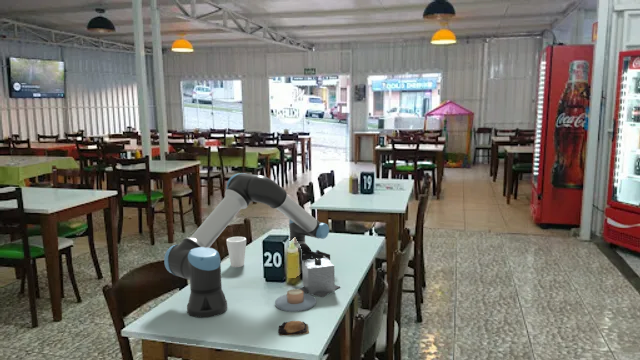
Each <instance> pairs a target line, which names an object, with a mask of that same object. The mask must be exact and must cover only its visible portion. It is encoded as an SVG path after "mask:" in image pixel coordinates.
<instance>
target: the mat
mask: <svg viewBox="0 0 640 360" xmlns="http://www.w3.org/2000/svg"><path fill="white" fill-rule="evenodd" d="M340 288H341V286H340V285H335V291H336V290H337V289H340ZM299 289H300V290H303V293H304V294H308V292H307V291H306V289H305V288H304V286H303V287H300V288H299ZM330 293H332V292H325V293H317V294H310V295H311V296H314V297H315V296H316V297H320V298H323V297H325V296H327V295H329V294H330Z"/></svg>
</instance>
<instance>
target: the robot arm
mask: <svg viewBox="0 0 640 360" xmlns="http://www.w3.org/2000/svg"><path fill="white" fill-rule="evenodd" d="M252 202H253V203H254V202H255V203H261V204H264V205H267V206H268V207H270V208H271V209H276V210H277V211H278V212H280V213H281V214H282V215H284V216H285V217H286V218H288V219H289V220H288V221H289V223H288V227H289V238H290V240H289V241H291V240H292V239H293V238H294V237H296V239H297V241H298V243H299V244H300V246H301V249H302V260H312V259H316V258H319V259H321V258H328V259H329V261H331V254H329V253H326V252H323V251H320V250H318V249H317V250H315V251H313V250H311V248H310V246H309V244H307V243H306V237H311V238H315V239H317V240H318V239H320V240H324V239H326V238H327V237H328V235H329V233H330V227H329V225H328V224H327V223H325V222H320V221H319V220H318V219H316V217H314V216H313V215H311V214H310V213H309V212H308V211H307V210H306V209H305V208H303V207H302V206H301V205H300V204H298V203H297V202H296V201H295V200H294V199H292V198H291V197H290V196H289V195H288V192H287V191H286V190H285V189H284V188H283V187H282V186H280V185H279V183H277V182H275V181H274V180H272V179H271V178H269V177H267V176H265V175H258V174H251V173H246V172H241V173H240V172H239V173H236V174H235V173H234V174H233V175H232V176H230V178H228V181H227V183H226V190H225V191H224V197H223V198H222V200H221V201H220V202H219V203H218V204H217V206H216V207H215V208H214V209H213V210H212V211H211V212H210V214H209V215H208V216H207V217H206V219H205V220H204V221H203V222H202V223H201V224H200V226H199V227H198V228H197V229H196V231H194V233H193V234H192V235H191V236H190V237H185V238H184V239H183V240H182V241H181V242H180V243H179V244H173V245H171V246H170V247H169V248H168V249H167V250H166V251H165V254H164V258H163V260H164V267H165V269H166V270H167V272H168V273H170V274H172V275H173V276H176V277H180V278H183V279H185V280H189V286H190V294H189V298H188V303H187V304H186V312H187V313H186V314H187V315H189V316H190V317H193V318H210V317H211V318H213V317H215V316H216V317H217V316H219V315H221V314H223V313H225V312H226V311H227V309H228V300H227V299H226V297H225V294H224V291H223V287H222V269H221V268H222V265H221V263H222V262H221V261H222V260H221V256H220V253H219V251H218V250H217V249H215V248H213V247H211V246H212V245H213V243H215V241H216V240H217V239H218V237H219V236H220V235H221V234H222V233H223V232H224V230H225V229H226V227H228V225H229V224H230V223H231V222H232V221H233V219H234V218H235V217H236V216H237V214H238V213H239V212H240V210H245V209H247V208H248V206H250V204H251V203H252ZM298 270H299V268H298ZM298 270H297V271H298Z"/></svg>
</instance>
